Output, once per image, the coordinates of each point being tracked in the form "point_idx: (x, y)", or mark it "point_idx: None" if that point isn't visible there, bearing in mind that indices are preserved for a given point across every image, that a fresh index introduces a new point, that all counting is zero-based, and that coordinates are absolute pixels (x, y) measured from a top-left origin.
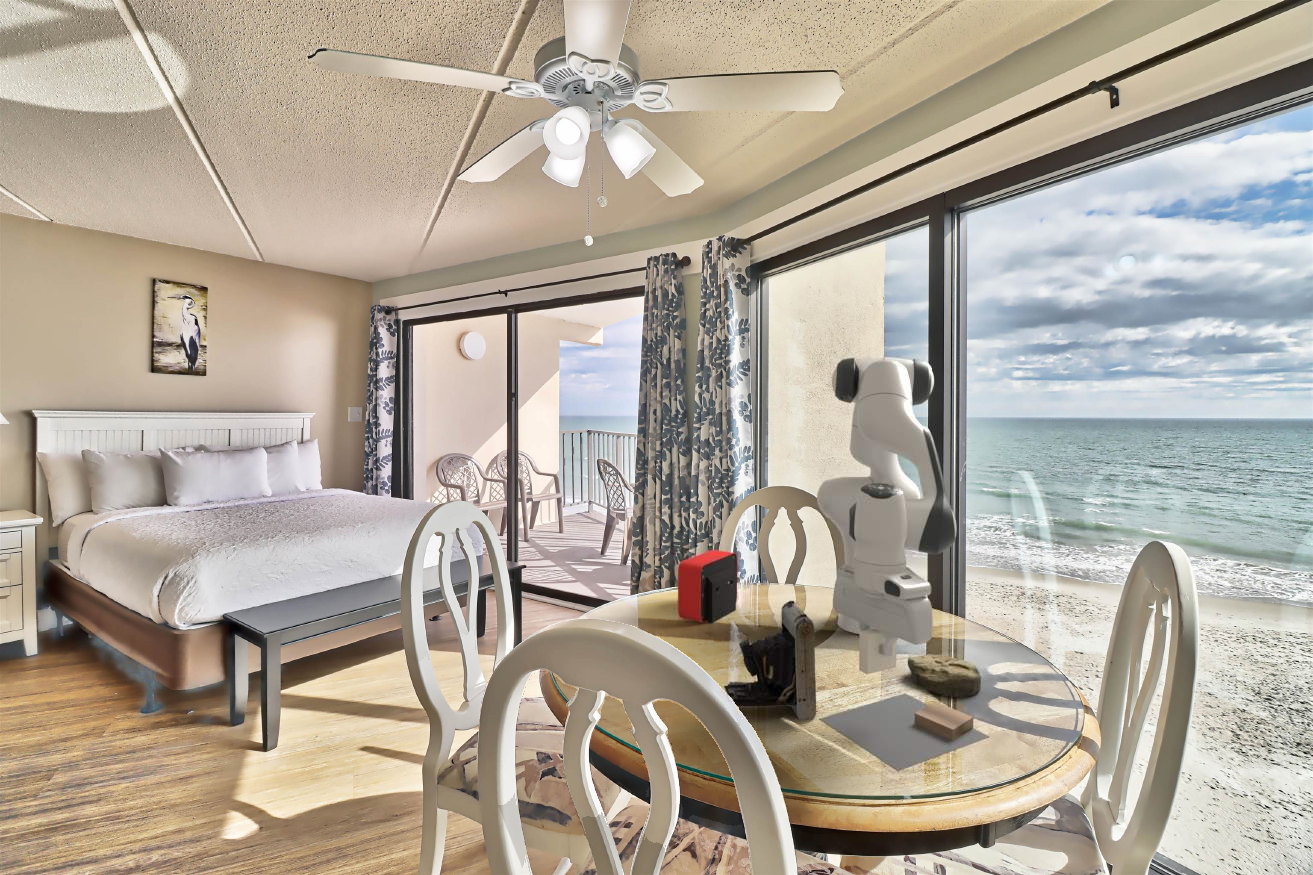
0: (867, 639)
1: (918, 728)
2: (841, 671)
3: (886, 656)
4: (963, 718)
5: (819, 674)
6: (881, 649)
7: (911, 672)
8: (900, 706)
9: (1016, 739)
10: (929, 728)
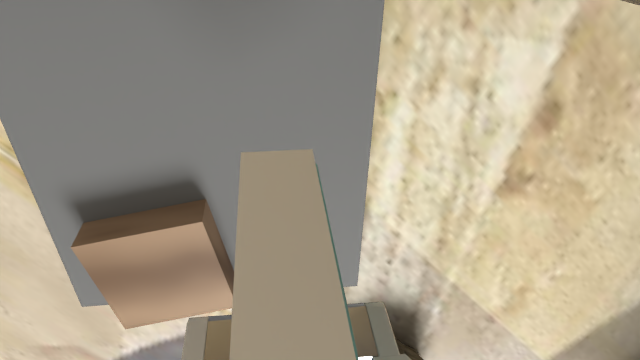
0: (240, 348)
1: (177, 191)
2: (562, 233)
3: (191, 320)
4: (126, 306)
5: (604, 169)
6: (222, 344)
7: (406, 353)
8: None
9: (74, 342)
10: (155, 212)
